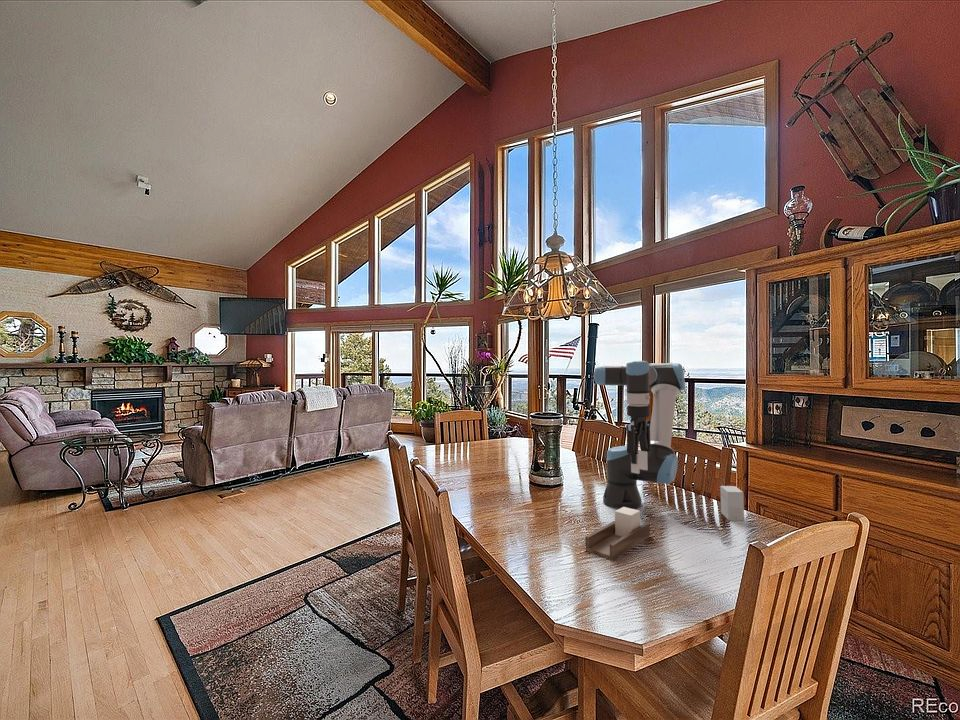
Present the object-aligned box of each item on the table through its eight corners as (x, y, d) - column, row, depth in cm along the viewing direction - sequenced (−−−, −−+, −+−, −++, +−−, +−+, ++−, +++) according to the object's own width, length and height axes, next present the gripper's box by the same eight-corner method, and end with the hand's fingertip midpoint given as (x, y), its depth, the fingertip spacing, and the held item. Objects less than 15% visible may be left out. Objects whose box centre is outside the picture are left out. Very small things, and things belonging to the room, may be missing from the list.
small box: (744, 521, 163) (744, 492, 163) (727, 520, 165) (727, 491, 164) (736, 513, 171) (736, 485, 171) (720, 512, 172) (720, 485, 172)
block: (615, 534, 152) (614, 511, 152) (624, 529, 156) (623, 506, 156) (631, 539, 147) (631, 515, 147) (640, 534, 151) (640, 510, 151)
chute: (585, 550, 143) (585, 536, 143) (623, 528, 159) (623, 516, 159) (613, 560, 136) (613, 545, 136) (650, 536, 152) (649, 523, 152)
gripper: (635, 408, 148) (637, 478, 148) (660, 403, 161) (661, 467, 161) (614, 406, 153) (616, 474, 154) (640, 401, 166) (641, 464, 166)
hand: (639, 470), depth 157 cm, fingers open, 5 cm apart
